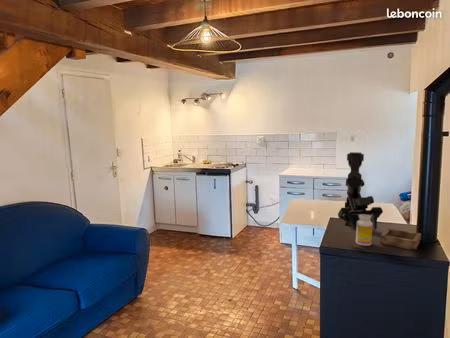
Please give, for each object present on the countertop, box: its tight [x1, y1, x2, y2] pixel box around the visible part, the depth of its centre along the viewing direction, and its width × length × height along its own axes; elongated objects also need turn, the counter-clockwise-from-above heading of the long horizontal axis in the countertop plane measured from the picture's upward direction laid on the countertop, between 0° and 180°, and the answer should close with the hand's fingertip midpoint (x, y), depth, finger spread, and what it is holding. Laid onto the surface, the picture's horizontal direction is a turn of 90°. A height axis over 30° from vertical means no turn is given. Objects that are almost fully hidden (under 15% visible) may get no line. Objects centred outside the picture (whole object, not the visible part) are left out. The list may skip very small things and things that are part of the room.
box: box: [380, 228, 422, 251], centre depth 156 cm, size 14×14×4 cm
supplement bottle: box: [355, 214, 374, 247], centre depth 155 cm, size 7×7×13 cm
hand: (365, 229), depth 153 cm, fingers open, 9 cm apart
